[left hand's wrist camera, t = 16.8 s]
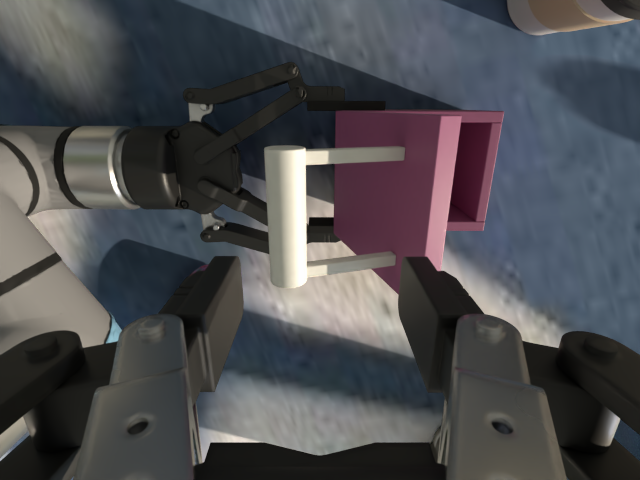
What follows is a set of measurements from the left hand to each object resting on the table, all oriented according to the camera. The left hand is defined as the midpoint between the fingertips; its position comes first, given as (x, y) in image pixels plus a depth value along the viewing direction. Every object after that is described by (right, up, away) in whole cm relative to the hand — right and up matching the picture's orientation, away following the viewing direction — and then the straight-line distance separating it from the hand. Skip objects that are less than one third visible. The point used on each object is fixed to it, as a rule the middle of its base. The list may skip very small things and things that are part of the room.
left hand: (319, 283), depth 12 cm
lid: (+4, +5, +12) cm, 14 cm away
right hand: (+6, +8, +21) cm, 23 cm away
